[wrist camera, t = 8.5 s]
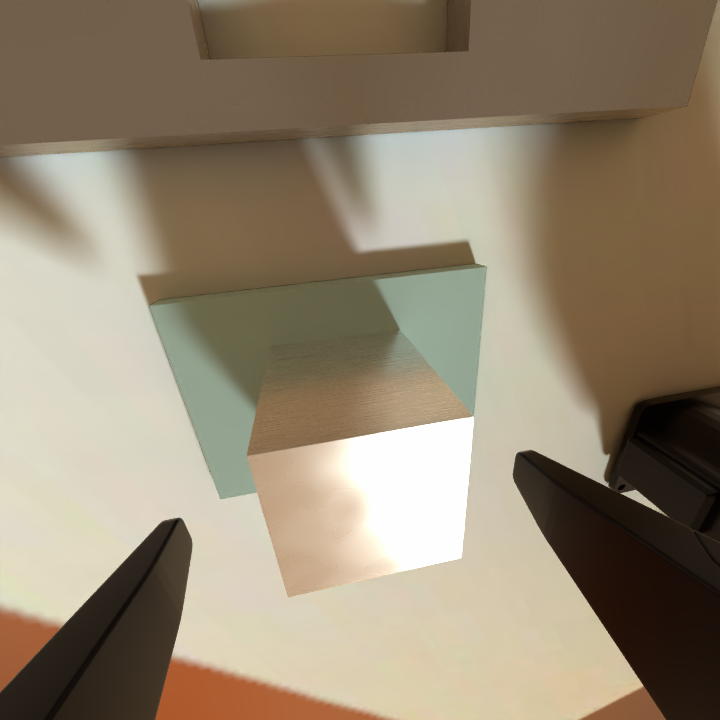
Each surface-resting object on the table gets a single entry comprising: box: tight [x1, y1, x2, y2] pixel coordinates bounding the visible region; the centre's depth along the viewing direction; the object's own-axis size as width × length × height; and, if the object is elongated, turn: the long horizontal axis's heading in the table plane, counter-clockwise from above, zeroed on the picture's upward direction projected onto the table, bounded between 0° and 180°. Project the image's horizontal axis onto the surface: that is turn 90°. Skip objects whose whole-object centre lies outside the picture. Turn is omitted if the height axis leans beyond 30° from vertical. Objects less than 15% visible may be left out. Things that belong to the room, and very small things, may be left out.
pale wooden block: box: [247, 329, 474, 597], centre depth 11 cm, size 5×5×6 cm
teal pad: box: [149, 264, 487, 499], centre depth 14 cm, size 12×9×1 cm
